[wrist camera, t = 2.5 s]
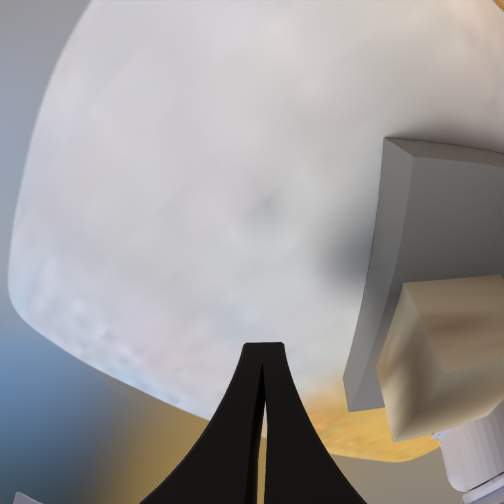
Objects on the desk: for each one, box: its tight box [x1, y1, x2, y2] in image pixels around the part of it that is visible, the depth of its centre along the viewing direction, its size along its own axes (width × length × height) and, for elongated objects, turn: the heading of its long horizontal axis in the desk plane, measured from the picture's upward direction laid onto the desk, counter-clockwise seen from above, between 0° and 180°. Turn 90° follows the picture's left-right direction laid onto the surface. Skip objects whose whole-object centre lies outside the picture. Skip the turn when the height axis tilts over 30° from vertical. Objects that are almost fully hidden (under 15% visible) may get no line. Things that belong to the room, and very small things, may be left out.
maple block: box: [376, 274, 504, 443], centre depth 9 cm, size 5×5×4 cm
